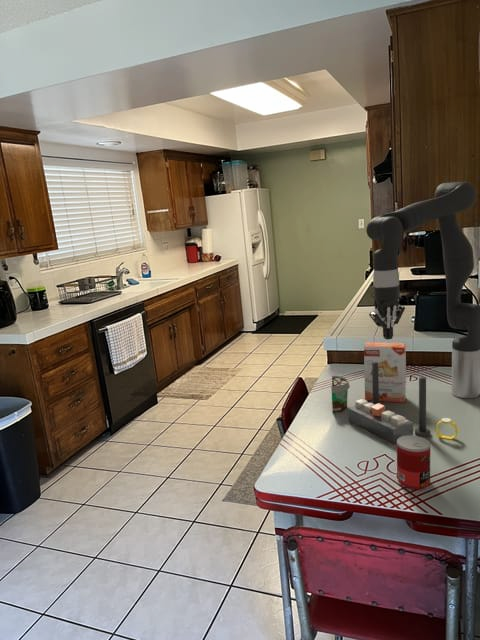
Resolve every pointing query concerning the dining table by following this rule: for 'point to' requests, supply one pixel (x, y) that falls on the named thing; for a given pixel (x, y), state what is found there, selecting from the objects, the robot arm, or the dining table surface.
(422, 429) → the stand
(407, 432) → the breaker strip
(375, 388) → the stand
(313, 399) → the dining table surface
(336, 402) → the food container
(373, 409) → the breaker paddle
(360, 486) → the dining table surface
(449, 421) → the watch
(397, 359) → the cracker box
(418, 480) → the canned food
